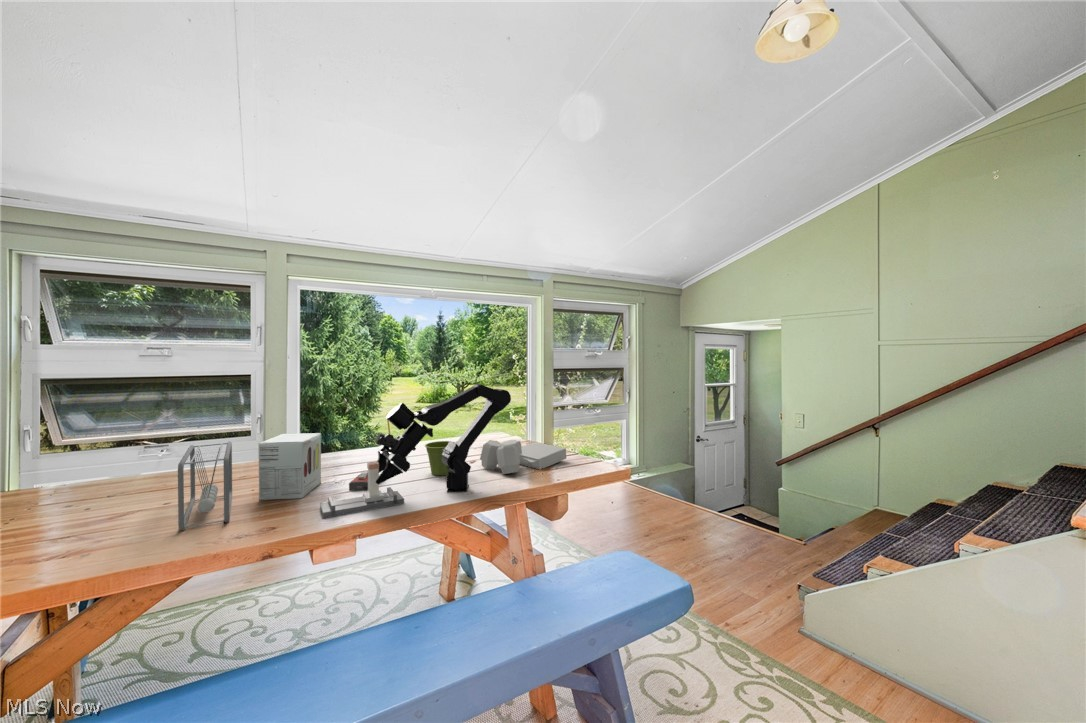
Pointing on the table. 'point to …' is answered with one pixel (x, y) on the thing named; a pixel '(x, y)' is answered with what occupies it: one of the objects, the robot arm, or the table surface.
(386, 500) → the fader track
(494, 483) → the table surface
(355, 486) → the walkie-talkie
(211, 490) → the newton's cradle
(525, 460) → the game console
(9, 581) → the table surface
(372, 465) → the lever
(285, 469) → the supplement box
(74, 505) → the table surface
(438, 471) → the plant pot
